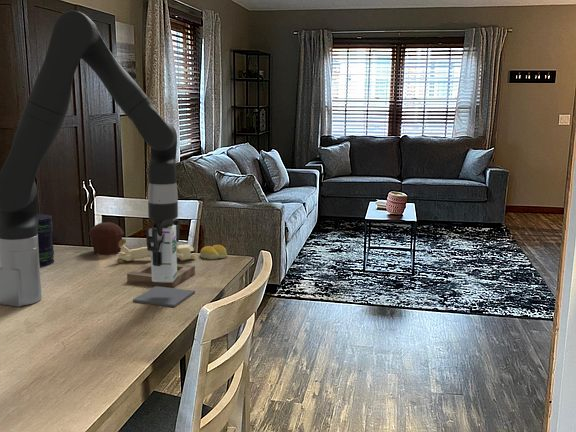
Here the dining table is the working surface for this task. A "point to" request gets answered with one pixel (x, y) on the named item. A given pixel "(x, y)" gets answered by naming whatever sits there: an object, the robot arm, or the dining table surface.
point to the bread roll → (213, 252)
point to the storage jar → (45, 240)
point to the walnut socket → (145, 277)
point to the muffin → (106, 238)
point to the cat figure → (142, 252)
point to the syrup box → (166, 257)
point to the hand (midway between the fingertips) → (164, 261)
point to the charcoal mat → (164, 296)
